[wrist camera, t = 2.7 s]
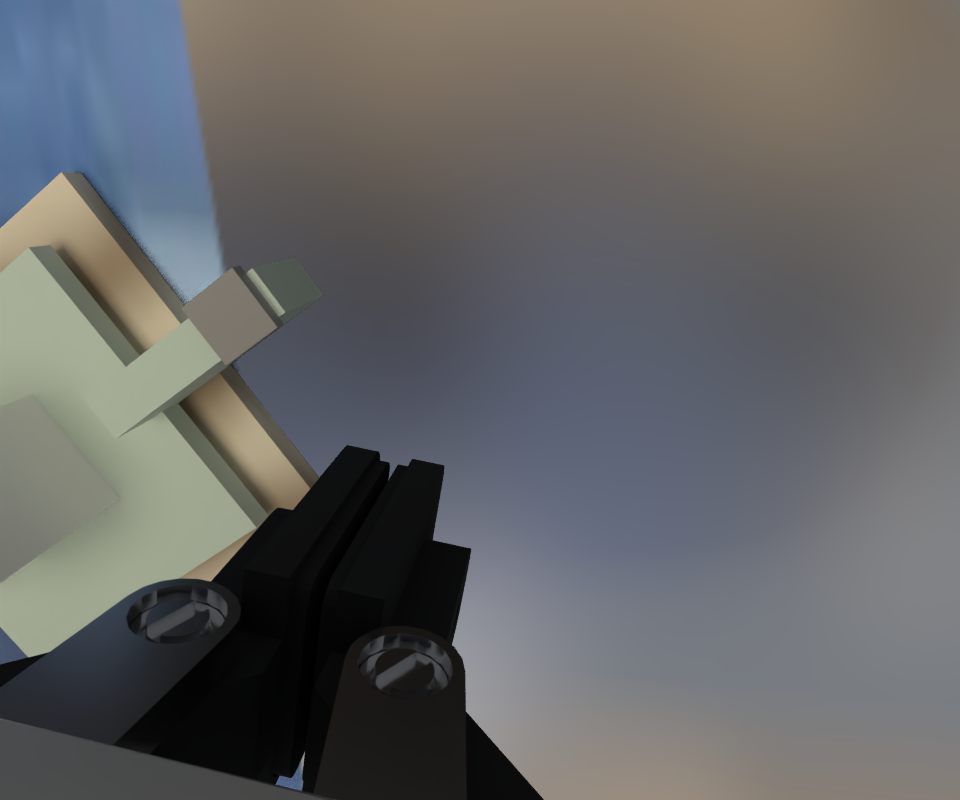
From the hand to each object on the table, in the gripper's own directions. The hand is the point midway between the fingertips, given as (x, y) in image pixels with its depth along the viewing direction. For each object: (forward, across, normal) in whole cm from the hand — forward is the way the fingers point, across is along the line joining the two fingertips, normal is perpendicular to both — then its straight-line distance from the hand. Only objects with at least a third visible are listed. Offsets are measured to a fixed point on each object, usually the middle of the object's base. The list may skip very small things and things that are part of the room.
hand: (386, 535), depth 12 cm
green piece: (+16, +15, +7) cm, 23 cm away
